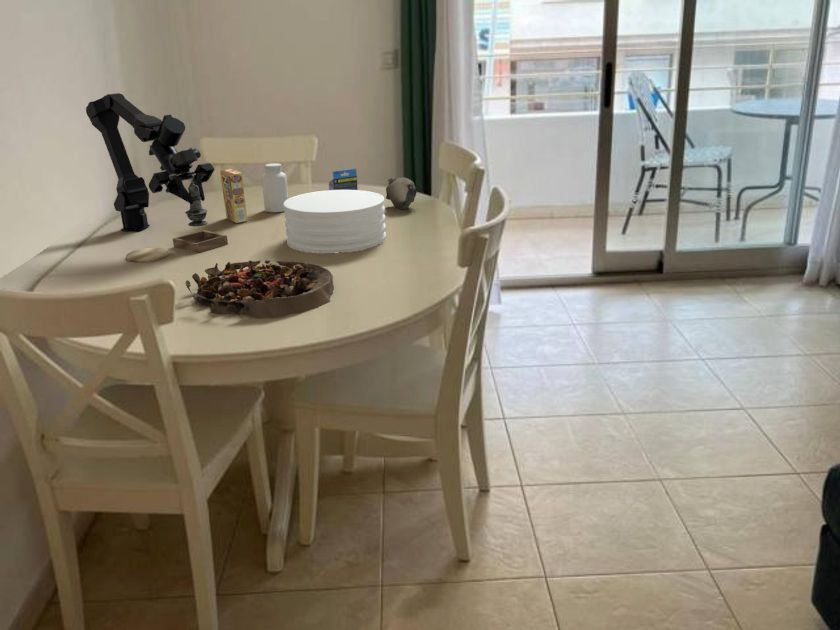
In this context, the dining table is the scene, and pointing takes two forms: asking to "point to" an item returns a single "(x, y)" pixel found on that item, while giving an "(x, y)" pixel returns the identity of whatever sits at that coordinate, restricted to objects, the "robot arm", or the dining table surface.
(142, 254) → the coaster
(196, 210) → the grey tall carved piece
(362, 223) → the plate stack
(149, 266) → the dining table surface
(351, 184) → the label tape box
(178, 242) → the bin frame
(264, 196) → the pill bottle
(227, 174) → the candy box
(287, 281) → the food dish
